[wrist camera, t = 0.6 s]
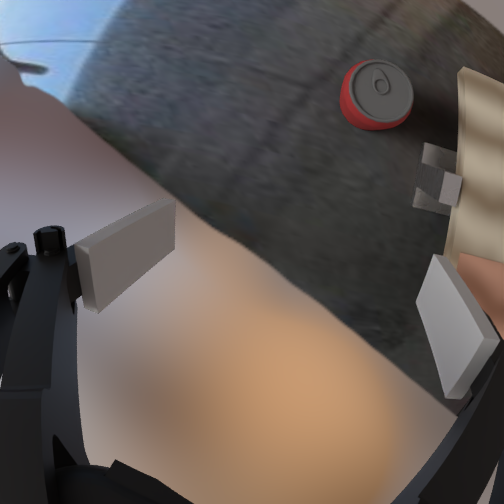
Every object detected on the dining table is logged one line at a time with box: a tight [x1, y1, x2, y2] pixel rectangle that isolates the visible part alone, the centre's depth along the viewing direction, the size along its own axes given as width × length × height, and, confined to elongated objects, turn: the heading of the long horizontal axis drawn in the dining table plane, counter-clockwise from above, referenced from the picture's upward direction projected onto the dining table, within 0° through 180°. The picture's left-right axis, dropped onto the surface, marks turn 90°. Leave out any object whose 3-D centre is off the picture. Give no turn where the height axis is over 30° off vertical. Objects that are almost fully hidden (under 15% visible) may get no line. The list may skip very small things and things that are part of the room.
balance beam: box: [443, 67, 504, 340], centre depth 24 cm, size 28×12×2 cm, turn 174°
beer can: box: [340, 59, 414, 130], centre depth 26 cm, size 7×7×12 cm
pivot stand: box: [410, 142, 462, 216], centre depth 27 cm, size 8×17×10 cm, turn 84°
